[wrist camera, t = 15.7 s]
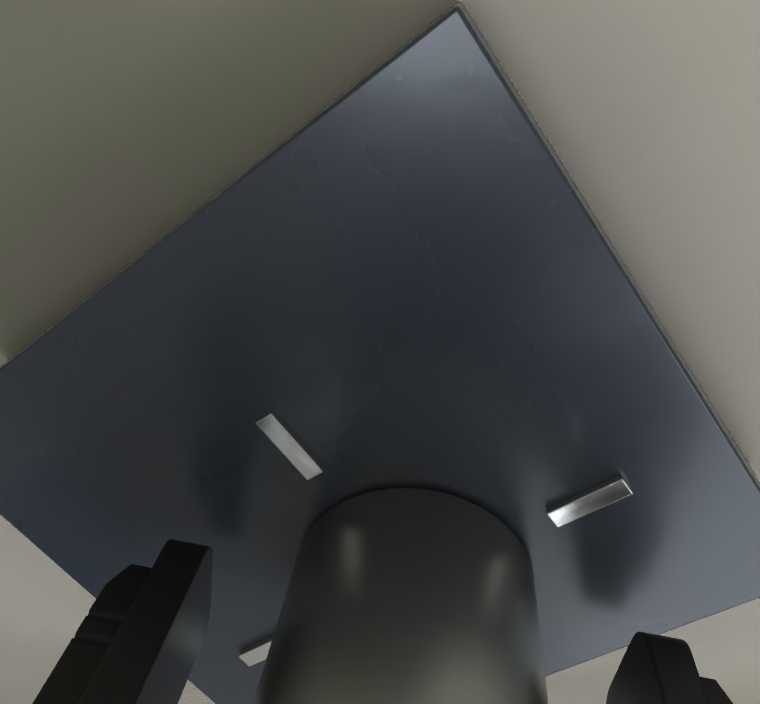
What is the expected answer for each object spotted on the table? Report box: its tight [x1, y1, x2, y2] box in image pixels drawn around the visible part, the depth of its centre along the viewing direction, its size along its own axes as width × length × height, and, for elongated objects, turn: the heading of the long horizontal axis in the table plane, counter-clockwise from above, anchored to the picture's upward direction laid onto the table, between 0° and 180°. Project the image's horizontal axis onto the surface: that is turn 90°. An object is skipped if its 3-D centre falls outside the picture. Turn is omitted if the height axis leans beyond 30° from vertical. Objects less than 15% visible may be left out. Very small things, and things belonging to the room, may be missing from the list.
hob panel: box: [0, 2, 760, 704], centre depth 14 cm, size 12×12×3 cm
